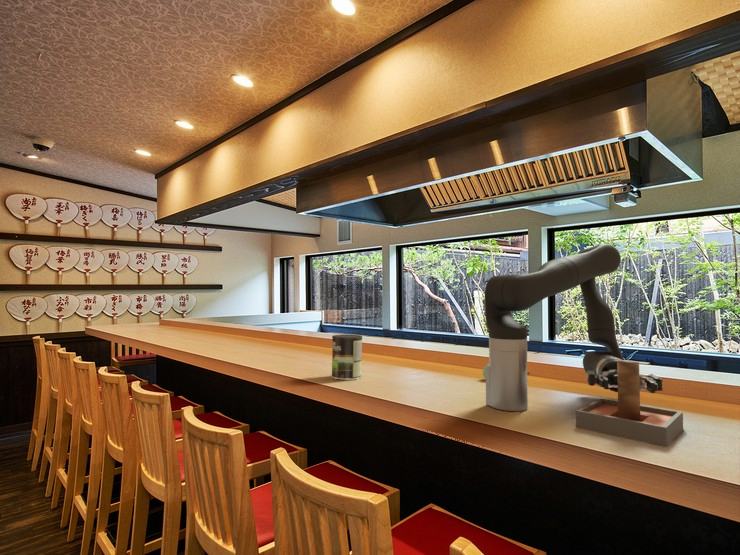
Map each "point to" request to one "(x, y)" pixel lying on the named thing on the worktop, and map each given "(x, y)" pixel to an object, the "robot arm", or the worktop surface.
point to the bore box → (631, 422)
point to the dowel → (628, 390)
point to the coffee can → (346, 357)
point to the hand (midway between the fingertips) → (629, 386)
